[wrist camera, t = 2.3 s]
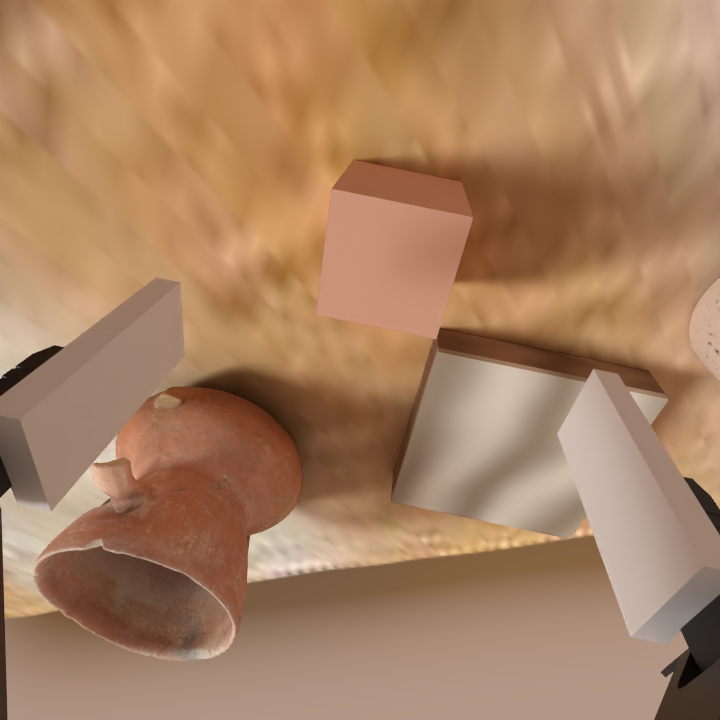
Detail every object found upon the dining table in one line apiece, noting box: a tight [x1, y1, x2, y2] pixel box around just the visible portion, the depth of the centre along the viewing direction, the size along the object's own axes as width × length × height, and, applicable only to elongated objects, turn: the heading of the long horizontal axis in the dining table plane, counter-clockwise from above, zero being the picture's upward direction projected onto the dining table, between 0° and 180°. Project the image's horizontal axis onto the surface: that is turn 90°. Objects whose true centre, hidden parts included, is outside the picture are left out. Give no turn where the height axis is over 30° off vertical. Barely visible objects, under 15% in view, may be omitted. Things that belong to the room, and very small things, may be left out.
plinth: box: [391, 328, 669, 539], centre depth 32 cm, size 14×14×3 cm
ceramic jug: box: [33, 387, 303, 661], centre depth 32 cm, size 18×14×14 cm
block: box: [316, 160, 474, 339], centre depth 23 cm, size 6×6×7 cm
